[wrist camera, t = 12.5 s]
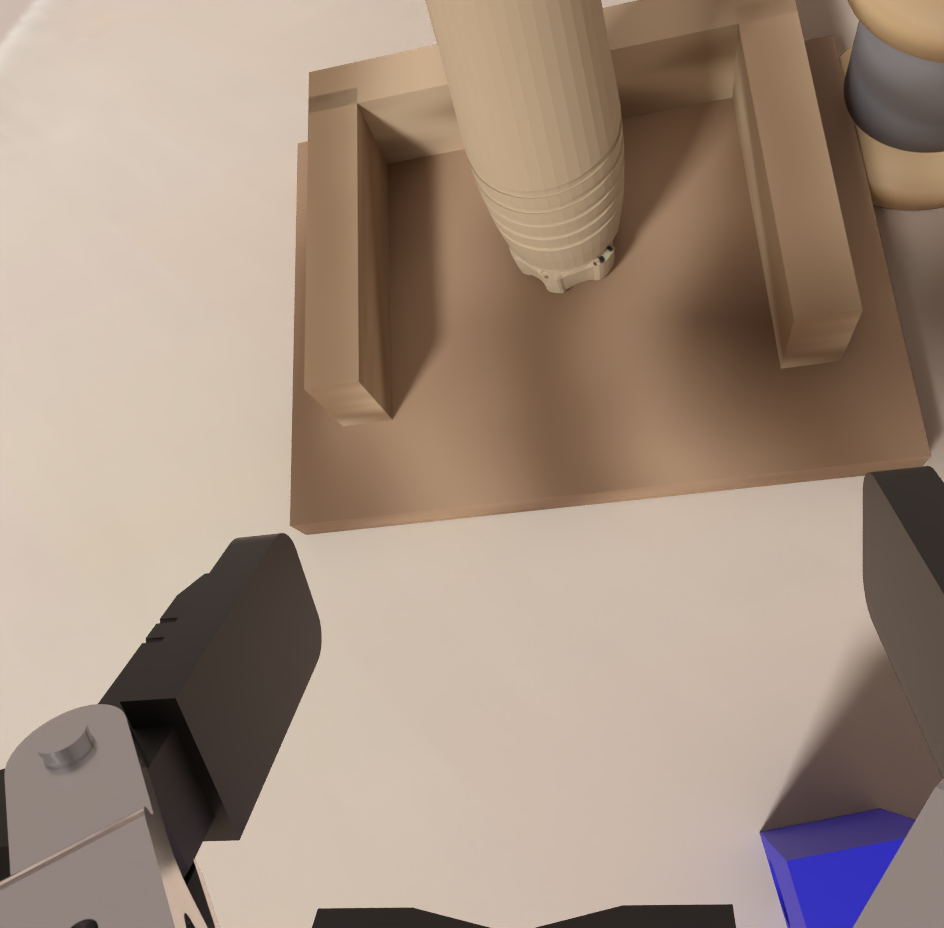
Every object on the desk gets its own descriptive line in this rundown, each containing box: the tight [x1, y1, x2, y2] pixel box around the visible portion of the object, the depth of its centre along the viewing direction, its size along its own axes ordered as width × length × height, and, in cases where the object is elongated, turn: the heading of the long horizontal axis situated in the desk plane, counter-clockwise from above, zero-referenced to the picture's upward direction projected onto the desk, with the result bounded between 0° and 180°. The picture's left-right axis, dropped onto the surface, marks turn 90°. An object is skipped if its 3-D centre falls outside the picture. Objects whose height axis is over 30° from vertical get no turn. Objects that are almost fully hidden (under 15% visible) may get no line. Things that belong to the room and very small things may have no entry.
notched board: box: [290, 0, 931, 535], centre depth 26 cm, size 18×14×4 cm
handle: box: [425, 0, 624, 293], centre depth 20 cm, size 5×6×15 cm
